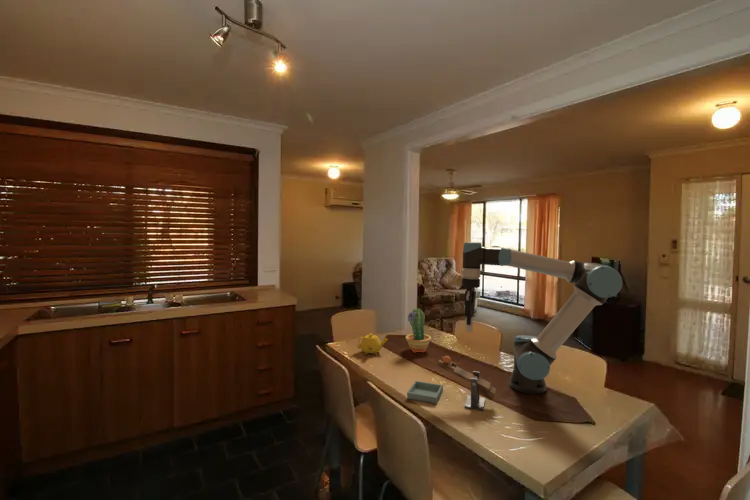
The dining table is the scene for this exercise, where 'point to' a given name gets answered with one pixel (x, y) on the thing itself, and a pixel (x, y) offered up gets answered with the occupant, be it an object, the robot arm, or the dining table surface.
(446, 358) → the ball
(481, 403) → the stand
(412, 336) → the potted cactus
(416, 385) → the dish
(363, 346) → the teapot
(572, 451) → the dining table surface
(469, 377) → the lever
